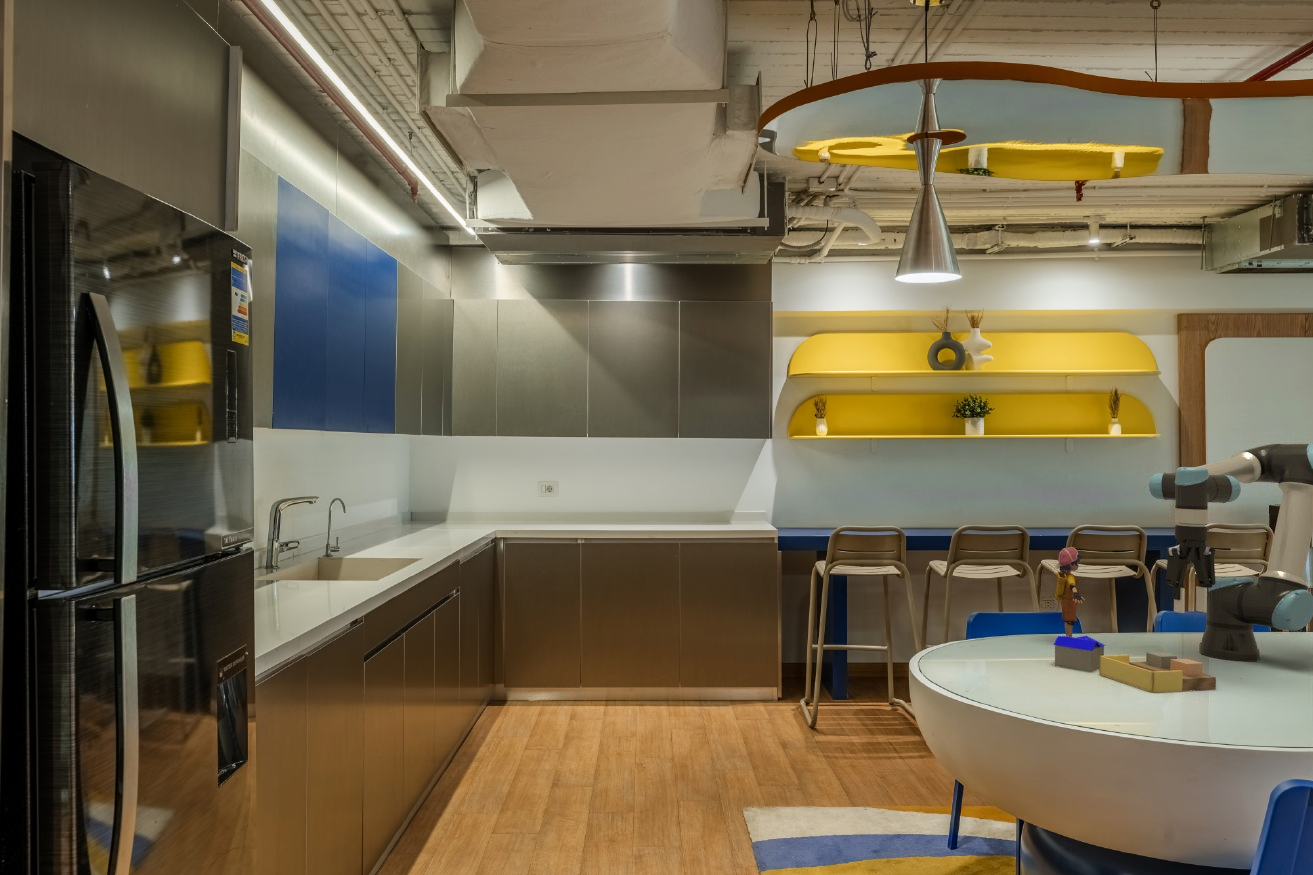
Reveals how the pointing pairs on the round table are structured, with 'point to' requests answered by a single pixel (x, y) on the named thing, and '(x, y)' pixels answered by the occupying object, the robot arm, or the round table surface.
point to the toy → (1068, 586)
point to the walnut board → (1185, 678)
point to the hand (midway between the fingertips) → (1190, 611)
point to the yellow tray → (1139, 675)
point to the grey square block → (1159, 659)
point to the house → (1078, 653)
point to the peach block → (1187, 666)
